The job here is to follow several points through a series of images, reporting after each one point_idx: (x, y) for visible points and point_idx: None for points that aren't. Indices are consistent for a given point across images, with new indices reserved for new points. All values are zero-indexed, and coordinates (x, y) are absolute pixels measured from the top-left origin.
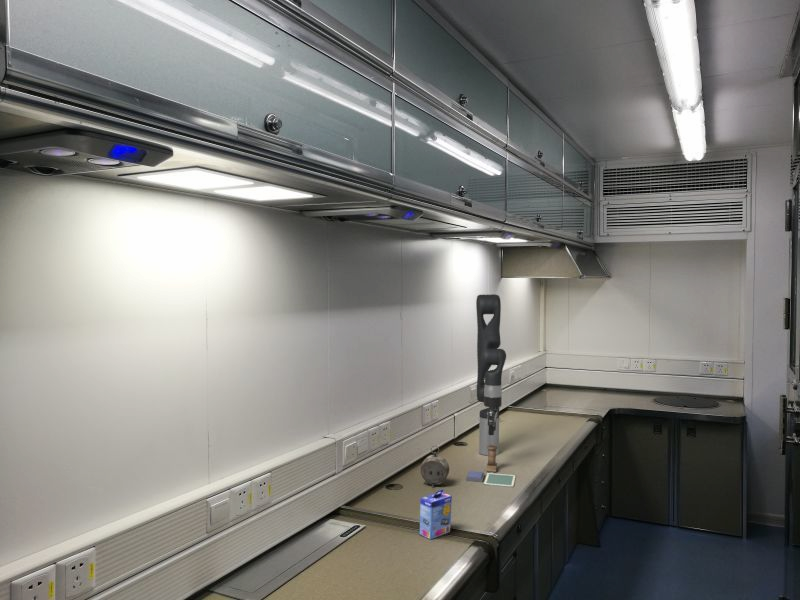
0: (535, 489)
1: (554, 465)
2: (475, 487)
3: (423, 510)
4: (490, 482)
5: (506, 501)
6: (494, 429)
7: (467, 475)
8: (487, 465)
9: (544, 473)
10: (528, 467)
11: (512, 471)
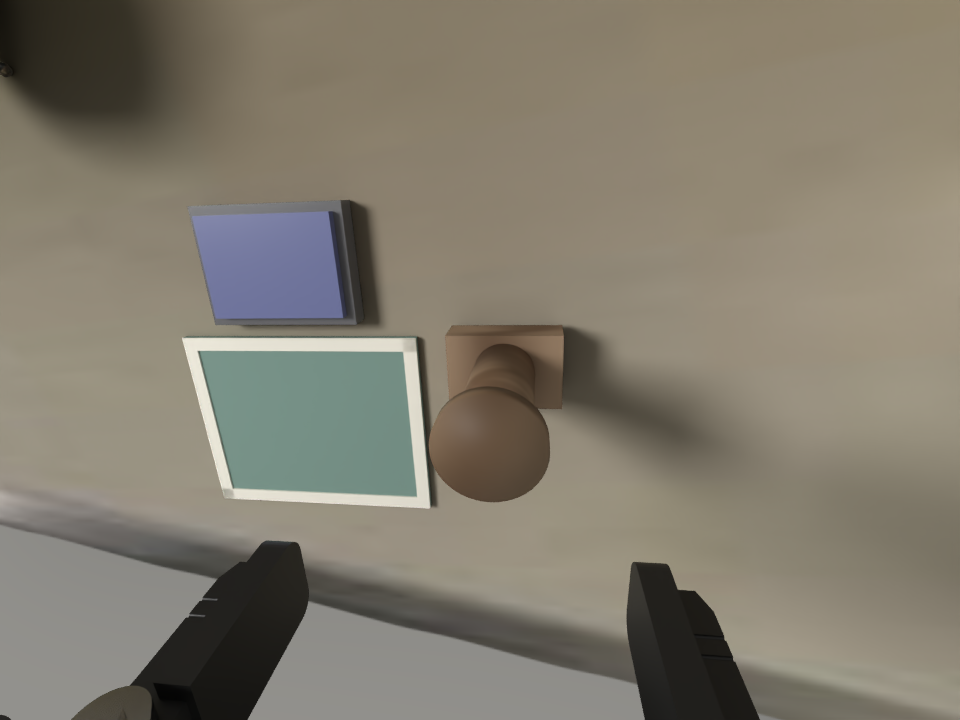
0: None
1: None
2: (112, 291)
3: None
4: (229, 374)
5: (13, 467)
6: (633, 633)
7: (243, 206)
8: (469, 342)
9: (542, 643)
10: None
11: None
